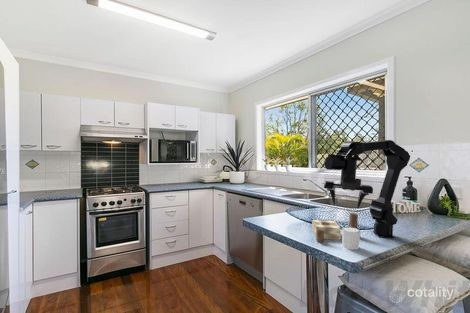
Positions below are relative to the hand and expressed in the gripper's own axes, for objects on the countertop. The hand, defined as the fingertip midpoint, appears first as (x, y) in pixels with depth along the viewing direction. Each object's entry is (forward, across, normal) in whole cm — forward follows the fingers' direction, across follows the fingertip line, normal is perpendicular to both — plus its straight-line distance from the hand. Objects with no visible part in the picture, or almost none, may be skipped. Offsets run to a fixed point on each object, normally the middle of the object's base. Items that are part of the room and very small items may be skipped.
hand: (345, 206), depth 104 cm
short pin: (+15, -9, -7) cm, 19 cm away
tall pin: (+14, +4, +6) cm, 15 cm away
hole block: (+14, -7, +2) cm, 16 cm away
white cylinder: (+14, +2, -8) cm, 17 cm away
